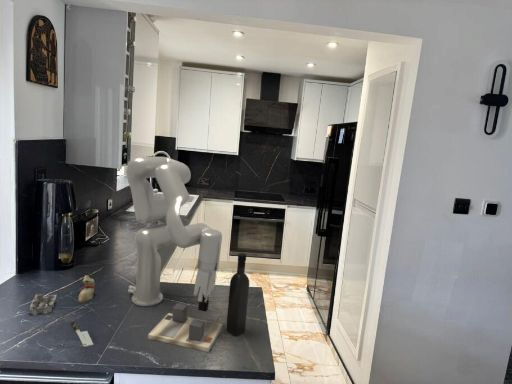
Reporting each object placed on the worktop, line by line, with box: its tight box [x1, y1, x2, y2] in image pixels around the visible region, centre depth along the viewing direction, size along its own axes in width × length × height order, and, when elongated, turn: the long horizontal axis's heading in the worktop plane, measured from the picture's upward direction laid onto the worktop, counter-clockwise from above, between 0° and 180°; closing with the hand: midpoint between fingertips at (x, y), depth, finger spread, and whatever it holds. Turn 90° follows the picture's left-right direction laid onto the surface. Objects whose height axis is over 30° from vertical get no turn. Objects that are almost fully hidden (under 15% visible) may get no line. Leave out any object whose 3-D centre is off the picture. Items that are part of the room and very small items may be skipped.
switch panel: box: [147, 312, 223, 353], centre depth 121 cm, size 22×15×2 cm
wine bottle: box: [225, 252, 250, 337], centre depth 122 cm, size 6×6×30 cm
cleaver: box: [70, 320, 94, 348], centre depth 116 cm, size 17×1×5 cm
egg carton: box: [29, 292, 57, 316], centre depth 128 cm, size 11×8×4 cm
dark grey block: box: [172, 302, 188, 322], centre depth 125 cm, size 4×4×5 cm
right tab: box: [189, 318, 206, 341], centre depth 116 cm, size 4×4×5 cm
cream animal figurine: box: [77, 275, 96, 304], centre depth 137 cm, size 6×8×10 cm
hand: (202, 309), depth 124 cm, fingers closed
